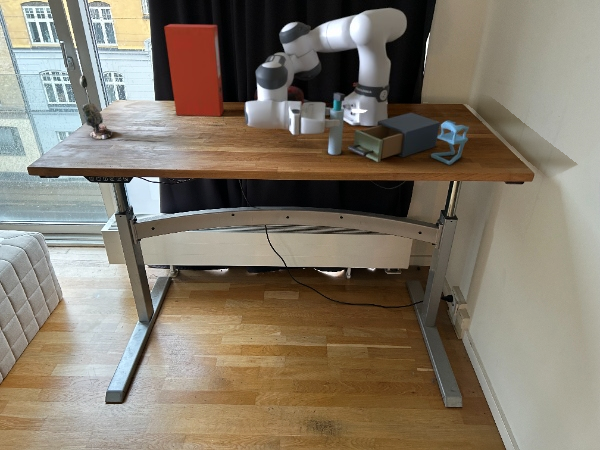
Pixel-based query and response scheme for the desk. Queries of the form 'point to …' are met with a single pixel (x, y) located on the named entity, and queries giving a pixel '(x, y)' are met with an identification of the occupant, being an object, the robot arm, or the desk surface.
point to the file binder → (195, 69)
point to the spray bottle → (336, 131)
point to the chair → (451, 141)
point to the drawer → (377, 142)
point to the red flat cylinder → (290, 94)
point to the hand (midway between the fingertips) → (339, 117)
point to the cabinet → (414, 132)
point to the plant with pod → (94, 117)
